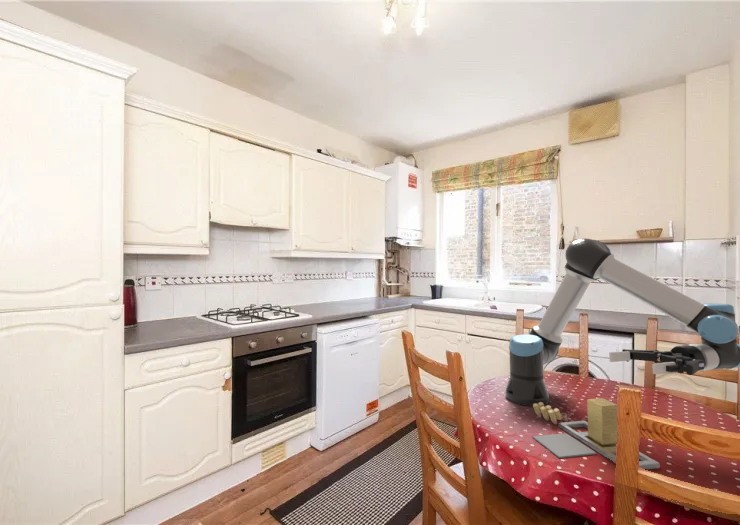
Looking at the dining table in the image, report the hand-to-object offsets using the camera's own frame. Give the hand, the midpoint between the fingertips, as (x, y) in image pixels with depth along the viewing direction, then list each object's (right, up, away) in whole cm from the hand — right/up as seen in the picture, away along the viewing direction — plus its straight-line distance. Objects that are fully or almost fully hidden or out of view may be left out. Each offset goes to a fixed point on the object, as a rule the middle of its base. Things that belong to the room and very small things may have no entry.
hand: (630, 362), depth 97 cm
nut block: (-10, -22, -2) cm, 25 cm away
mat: (-21, -23, -3) cm, 31 cm away
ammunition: (-16, -23, +14) cm, 31 cm away
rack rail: (-10, -22, -2) cm, 25 cm away
